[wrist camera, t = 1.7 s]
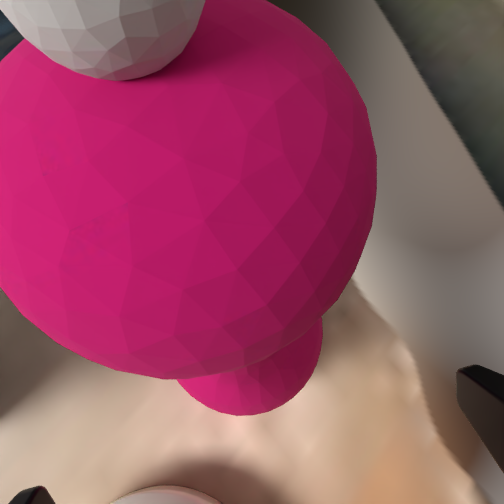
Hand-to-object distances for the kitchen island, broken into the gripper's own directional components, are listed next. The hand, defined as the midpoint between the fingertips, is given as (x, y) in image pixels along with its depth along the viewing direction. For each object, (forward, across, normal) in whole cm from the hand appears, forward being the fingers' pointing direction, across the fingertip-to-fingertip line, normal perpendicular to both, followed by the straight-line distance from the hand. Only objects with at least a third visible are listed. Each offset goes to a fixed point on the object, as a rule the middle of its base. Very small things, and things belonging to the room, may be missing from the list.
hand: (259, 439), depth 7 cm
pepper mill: (+12, 0, +6) cm, 13 cm away
